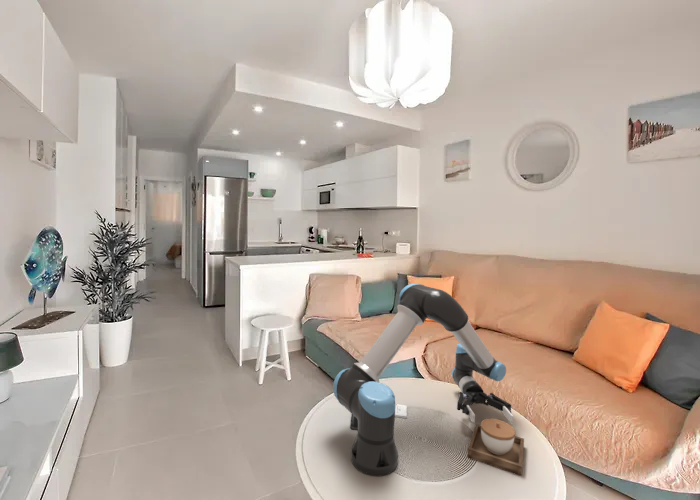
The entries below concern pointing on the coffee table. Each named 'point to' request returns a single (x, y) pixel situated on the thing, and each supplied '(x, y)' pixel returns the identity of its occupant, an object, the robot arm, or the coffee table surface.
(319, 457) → the coffee table surface
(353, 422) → the phone
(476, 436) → the walnut tray
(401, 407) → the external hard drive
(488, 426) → the lidded jar
